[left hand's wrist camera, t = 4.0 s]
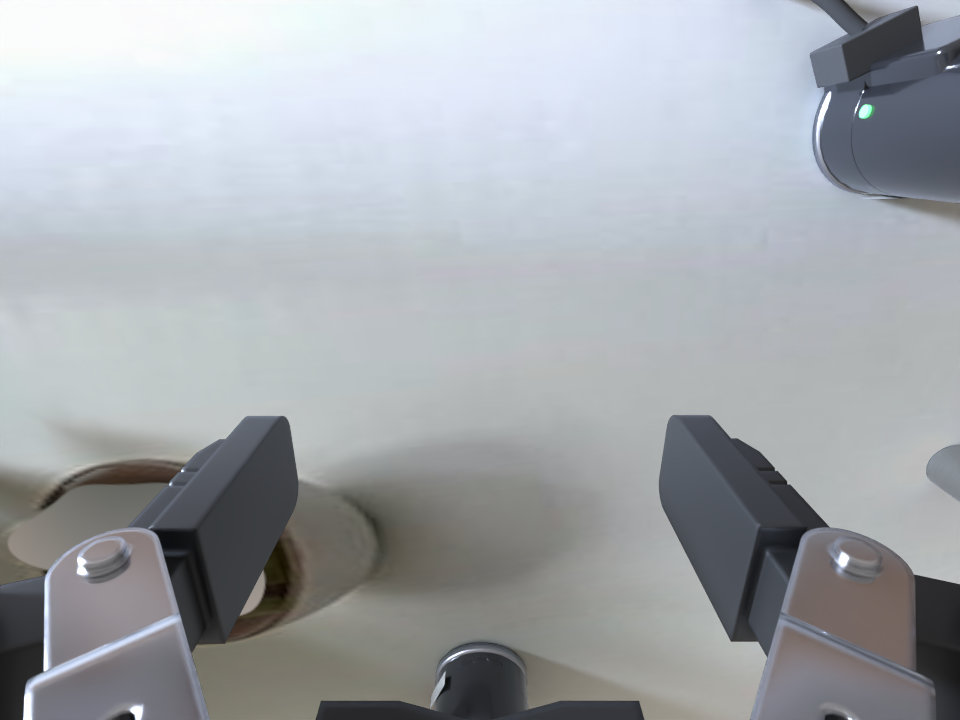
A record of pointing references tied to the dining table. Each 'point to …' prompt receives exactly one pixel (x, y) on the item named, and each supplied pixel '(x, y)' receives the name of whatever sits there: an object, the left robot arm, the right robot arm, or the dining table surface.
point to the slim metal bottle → (946, 470)
